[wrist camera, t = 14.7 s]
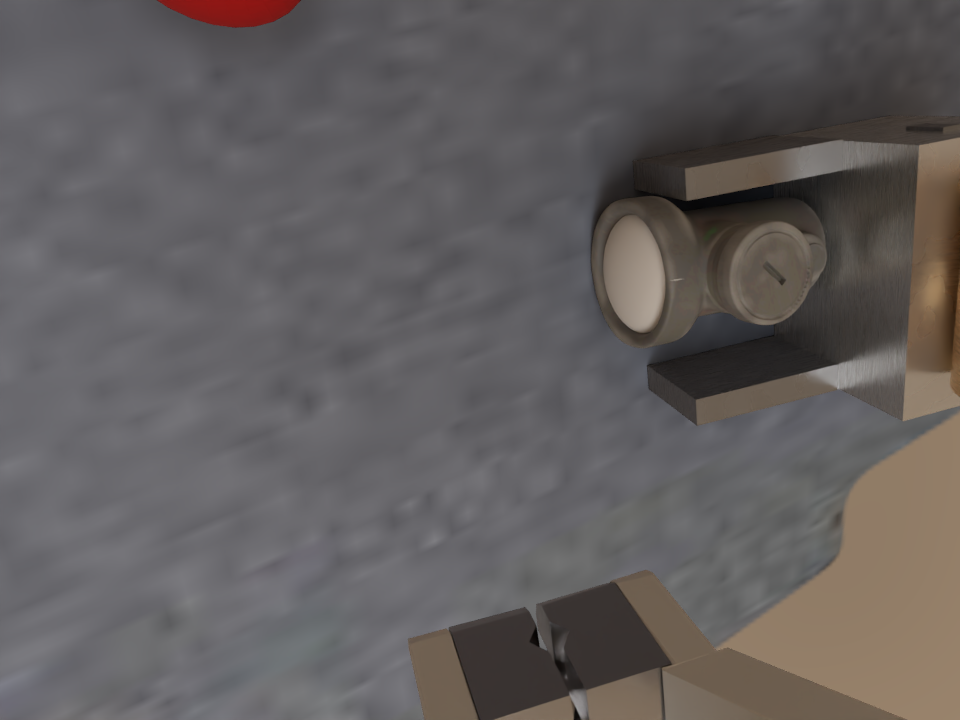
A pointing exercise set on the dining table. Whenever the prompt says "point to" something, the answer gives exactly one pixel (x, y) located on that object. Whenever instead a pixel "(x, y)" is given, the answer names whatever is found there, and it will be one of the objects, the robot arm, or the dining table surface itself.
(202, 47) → the dining table surface
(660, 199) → the vintage flashlight
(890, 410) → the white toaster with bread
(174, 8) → the red heart ornament
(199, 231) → the dining table surface
